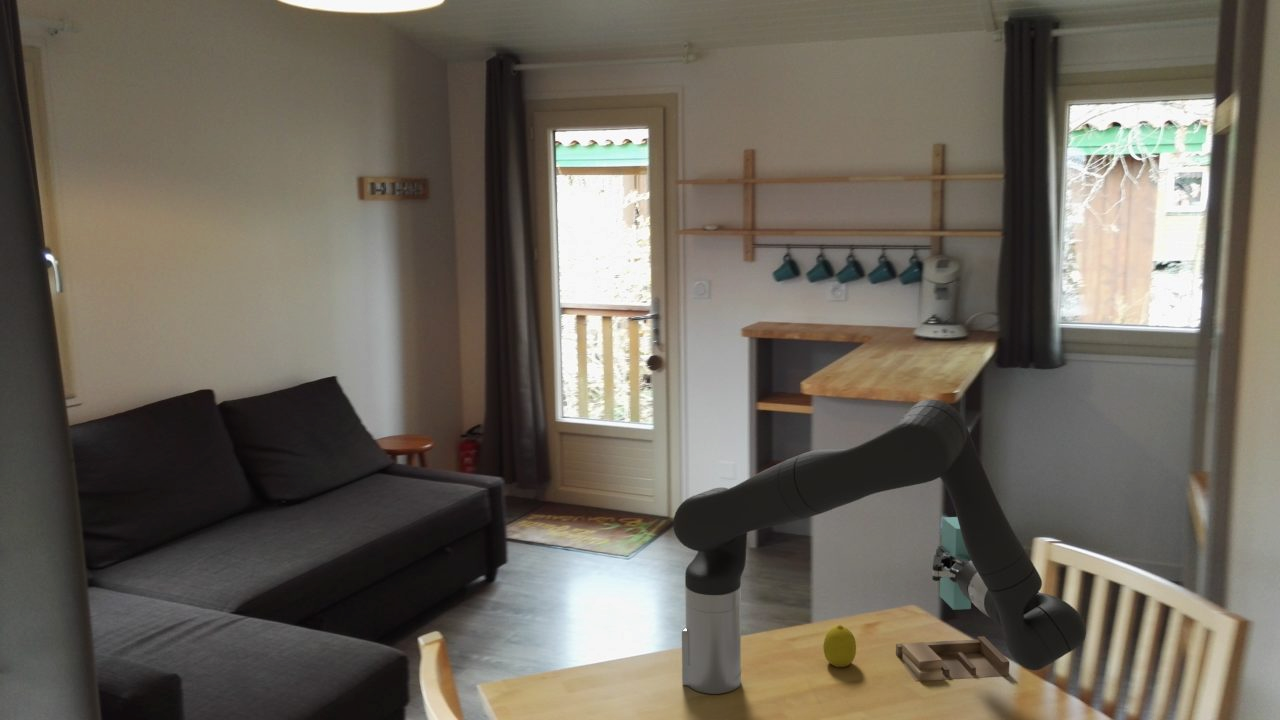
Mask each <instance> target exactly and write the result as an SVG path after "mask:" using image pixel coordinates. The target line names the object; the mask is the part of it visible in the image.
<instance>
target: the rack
mask: <svg viewBox="0 0 1280 720" xmlns="http://www.w3.org/2000/svg"><path fill="white" fill-rule="evenodd" d="M924 642H925V641H924ZM906 643H907V642H905V643H904V642H903V643H896V644H895V655H896V657H897V658H898V660H899V661H900V662H901V663H902V664H901V665H902V666H904V668H905V669H906V671H908V673H909V674H910V675H911V677H912V678H913V679H914V680H915V682H920V681H919V680H918V679H917V678H916V676H915V675H914V674H913V673H912V671H911V670H910V669H909V667H908V666H907V665H906V663H905V662H904V661H903V660H902V658H903V652H902V644H906ZM925 643H926V644H927V645H928V646H929V647H930V648H931V649H932V650H933V651H934V652H935V653H936V654H937V655H938V656H939V657H940V658H941V659H942V668H940V669H941V670H942V671H943V673H942V680H941V681H943V680H944V681H945V680H946V681H947V680H962V679H978V678H995V677H1009V676H1010V660H1008V658H1007V657H1005V656H1004V655H1003V654H1002V652H1000V651H999V649H998V648H996V646H994V644H993V643H991V641H990V640H989V639H987V638H986V637H985V635H984V636H977V639H976V638H975V639H961V640H959V639H958V640H957V639H956V640H943V641H942V640H941V641H928V642H927V641H926V642H925ZM926 681H927V682H929V681H931V680H926ZM926 681H925V682H926Z"/></svg>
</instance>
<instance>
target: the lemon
mask: <svg viewBox="0 0 1280 720" xmlns="http://www.w3.org/2000/svg"><path fill="white" fill-rule="evenodd" d="M856 644H857V643H856V638H855V636H854V634H853V632H852V631H851V630H850V629H848V628H847V627H846V626H843V625H842V624H838V625H837V626H834V627H832V628H830V629H829V630H827V632H826V634H825V637H824V640H823V654H824V658H825V659H826V661H827V662H828V663H829V664H830V665H832V666H833V667H836V668H845V667H847V666H849V665H851V664H852V662H853V661H854V659H855V658H856V654H857V645H856Z"/></svg>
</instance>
